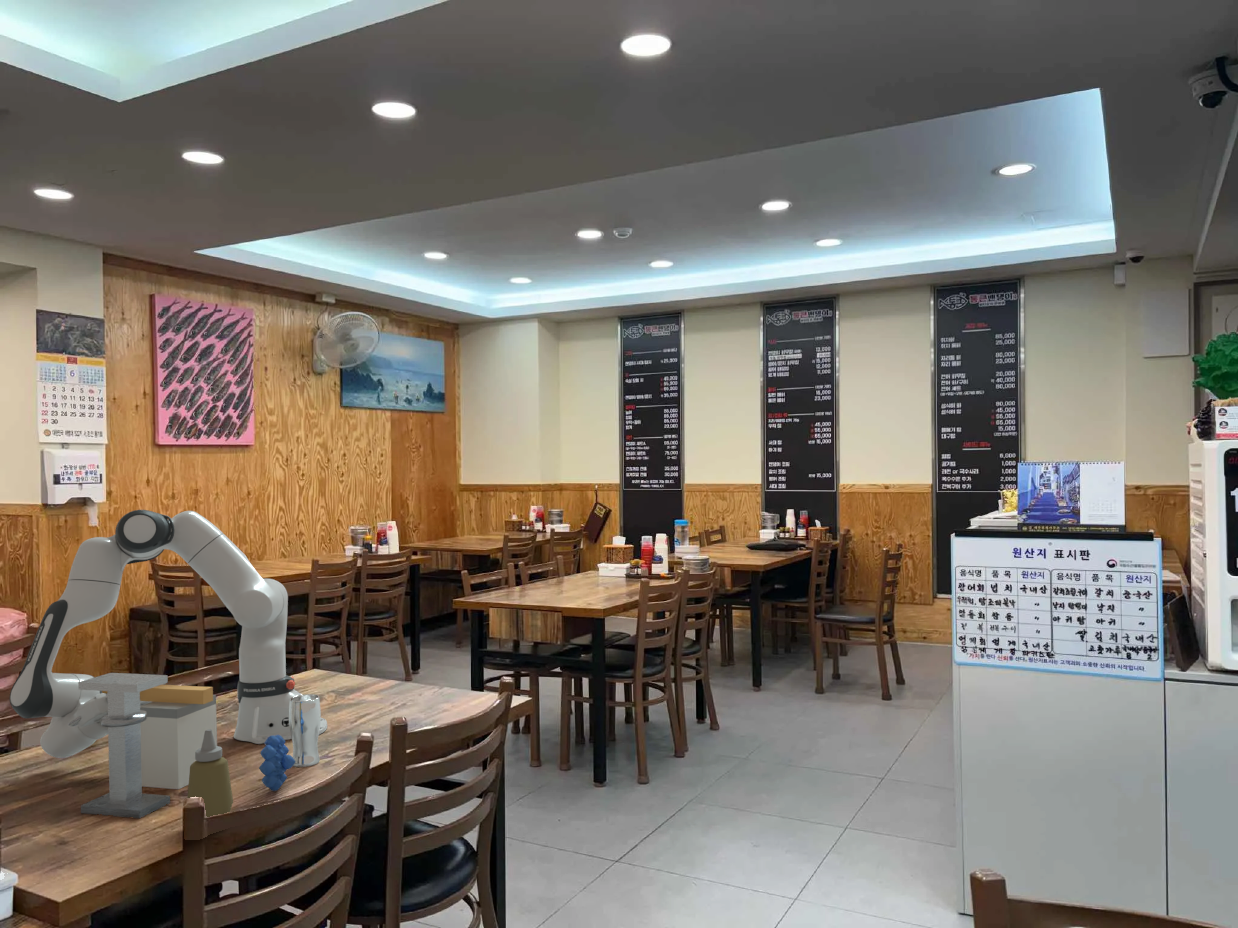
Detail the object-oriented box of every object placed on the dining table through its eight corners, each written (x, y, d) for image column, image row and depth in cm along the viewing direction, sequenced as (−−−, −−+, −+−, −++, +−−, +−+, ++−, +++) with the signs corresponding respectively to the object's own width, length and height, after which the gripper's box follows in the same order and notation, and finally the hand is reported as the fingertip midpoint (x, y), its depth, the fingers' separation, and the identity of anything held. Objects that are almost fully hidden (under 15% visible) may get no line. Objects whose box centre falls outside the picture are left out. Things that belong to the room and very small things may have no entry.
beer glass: (311, 768, 199) (309, 702, 199) (283, 767, 200) (281, 701, 200) (327, 758, 206) (326, 694, 206) (300, 757, 207) (299, 693, 207)
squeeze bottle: (196, 817, 172) (194, 725, 172) (239, 815, 173) (237, 723, 173) (179, 834, 164) (177, 737, 164) (224, 832, 164) (222, 735, 165)
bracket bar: (127, 700, 196) (126, 686, 196) (137, 696, 199) (137, 683, 199) (203, 704, 191) (203, 690, 191) (213, 700, 194) (212, 686, 194)
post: (81, 812, 176) (78, 681, 176) (113, 797, 183) (110, 672, 183) (139, 818, 172) (137, 684, 172) (170, 802, 180) (167, 675, 180)
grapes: (286, 800, 180) (285, 741, 180) (252, 801, 180) (251, 742, 180) (305, 780, 192) (303, 724, 192) (273, 781, 191) (272, 725, 191)
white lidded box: (139, 785, 190) (137, 706, 190) (180, 767, 202) (178, 692, 202) (178, 789, 188) (177, 709, 188) (217, 770, 199) (216, 694, 199)
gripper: (57, 714, 190) (102, 684, 187) (131, 690, 210) (173, 663, 207) (69, 740, 189) (115, 711, 186) (143, 714, 209) (185, 687, 206)
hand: (146, 685), depth 197 cm, fingers open, 8 cm apart
